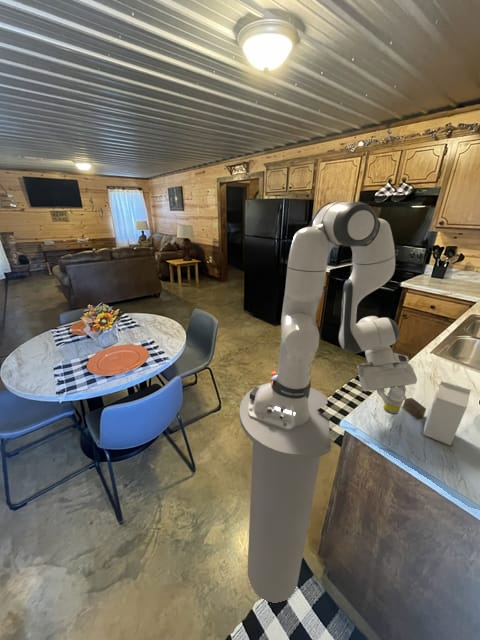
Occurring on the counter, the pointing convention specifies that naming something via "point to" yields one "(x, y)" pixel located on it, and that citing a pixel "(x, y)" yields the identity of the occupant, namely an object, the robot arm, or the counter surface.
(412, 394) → the counter surface
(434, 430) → the milk carton
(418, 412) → the brown wooden block
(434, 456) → the counter surface
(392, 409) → the supplement bottle
